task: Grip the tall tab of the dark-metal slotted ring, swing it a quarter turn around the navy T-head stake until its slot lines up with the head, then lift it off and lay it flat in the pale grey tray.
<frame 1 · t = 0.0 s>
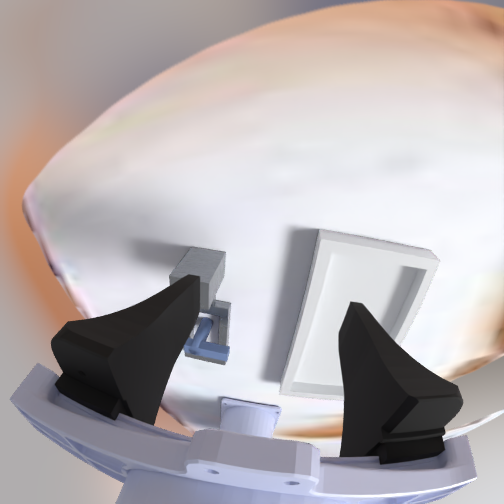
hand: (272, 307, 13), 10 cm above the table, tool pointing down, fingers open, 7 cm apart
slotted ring: (207, 329, 28), on the table
t-stake: (207, 322, 27), on the table
tray: (349, 329, 25), on the table
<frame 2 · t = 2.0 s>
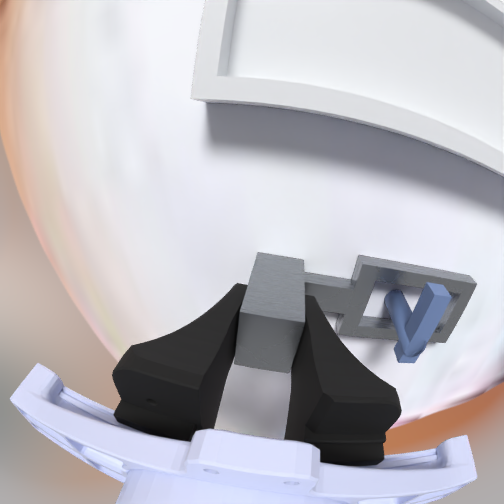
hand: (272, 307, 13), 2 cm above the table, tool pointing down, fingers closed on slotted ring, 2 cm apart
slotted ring: (407, 300, 14), on the table, touching gripper
t-stake: (393, 298, 14), on the table
tray: (414, 40, 8), on the table
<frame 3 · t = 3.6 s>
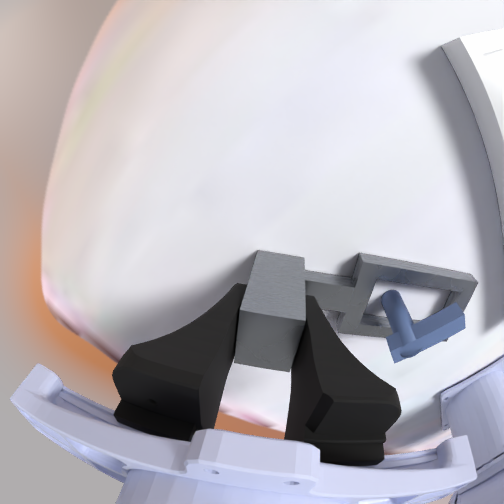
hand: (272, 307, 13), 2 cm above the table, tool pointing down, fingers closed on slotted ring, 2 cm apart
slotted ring: (408, 298, 14), on the table, touching gripper
t-stake: (390, 298, 14), on the table
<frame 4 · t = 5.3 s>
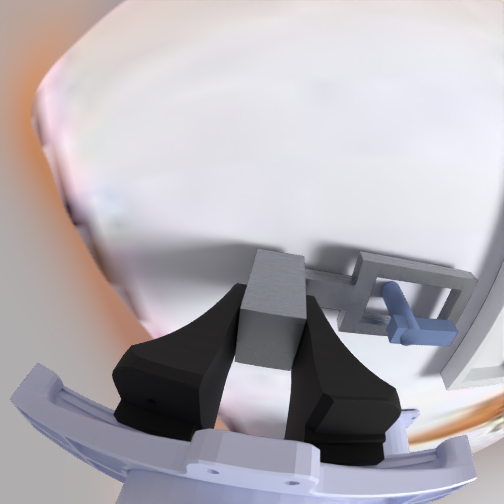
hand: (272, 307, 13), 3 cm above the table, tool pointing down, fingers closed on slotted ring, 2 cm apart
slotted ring: (408, 296, 14), point 1 cm above the table, touching gripper
t-stake: (390, 290, 15), on the table
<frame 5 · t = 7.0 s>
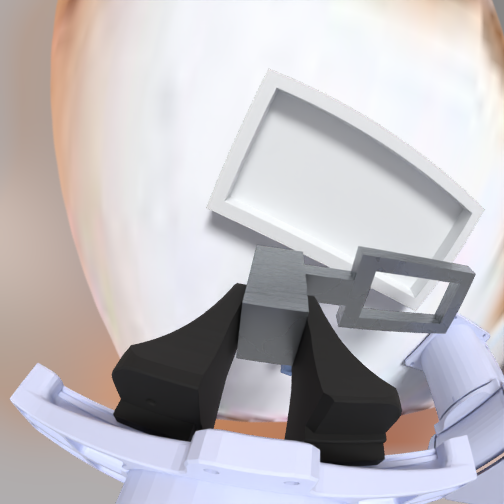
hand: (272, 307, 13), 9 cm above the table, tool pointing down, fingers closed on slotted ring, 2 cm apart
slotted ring: (407, 291, 14), point 7 cm above the table, touching gripper
t-stake: (293, 335, 25), on the table
tray: (357, 196, 19), on the table
when the fingers open (4 cm above the table, at t = 8.8 s): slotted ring stays where it is, resting on tray.
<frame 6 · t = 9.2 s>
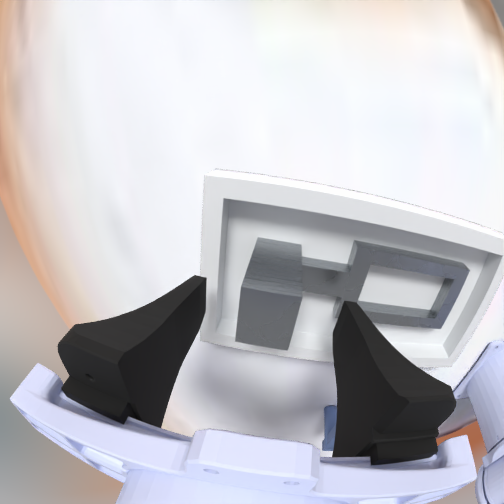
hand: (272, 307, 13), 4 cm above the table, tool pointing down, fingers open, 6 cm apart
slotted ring: (402, 285, 15), resting on tray
t-stake: (330, 408, 22), on the table
tray: (364, 281, 16), on the table
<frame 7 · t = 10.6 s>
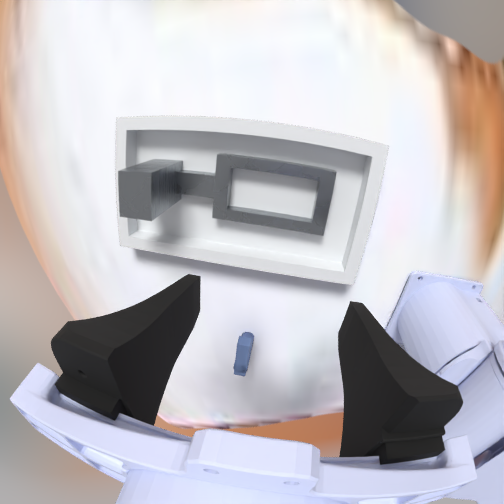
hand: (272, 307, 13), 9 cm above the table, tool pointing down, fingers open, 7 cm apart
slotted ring: (273, 191, 19), resting on tray
t-stake: (247, 336, 26), on the table
tray: (240, 190, 20), on the table
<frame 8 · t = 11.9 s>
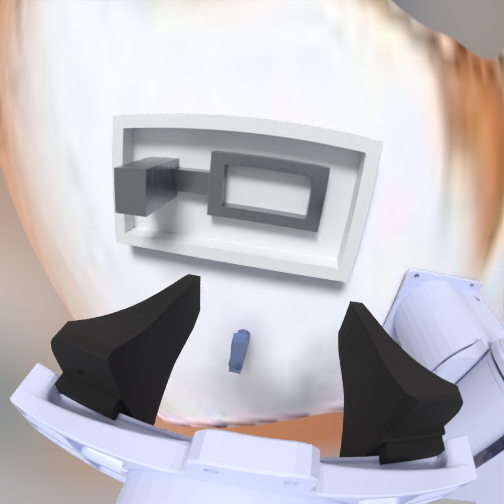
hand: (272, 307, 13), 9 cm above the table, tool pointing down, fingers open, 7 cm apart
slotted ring: (267, 188, 19), resting on tray
t-stake: (243, 334, 26), on the table
tray: (235, 187, 20), on the table
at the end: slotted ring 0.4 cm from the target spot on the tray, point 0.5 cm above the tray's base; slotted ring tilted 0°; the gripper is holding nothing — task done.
